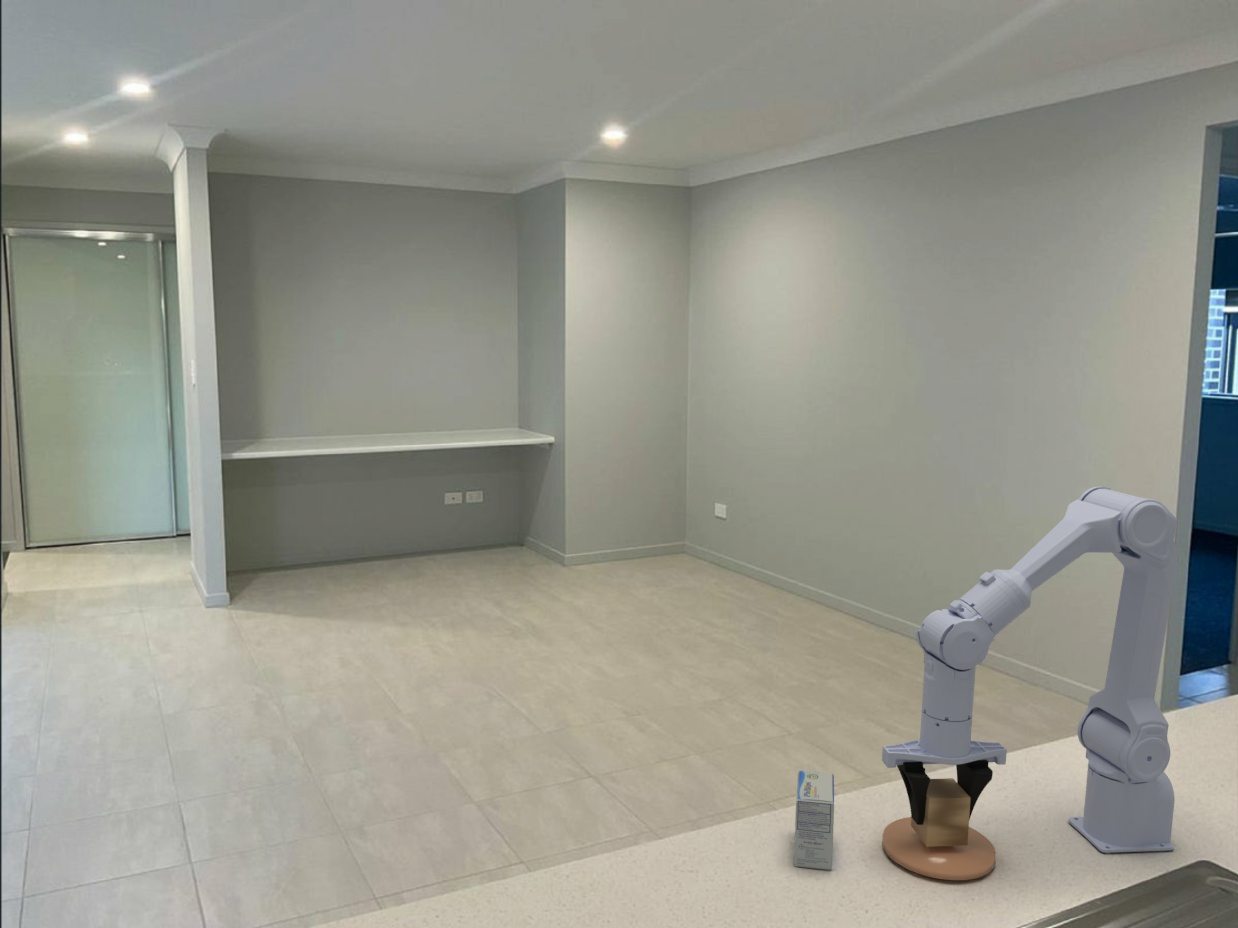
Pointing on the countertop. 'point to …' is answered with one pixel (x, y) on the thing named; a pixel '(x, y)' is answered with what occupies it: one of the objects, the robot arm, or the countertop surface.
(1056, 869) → the countertop surface
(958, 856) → the peach round disc
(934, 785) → the oak block
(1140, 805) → the robot arm
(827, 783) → the medicine box
